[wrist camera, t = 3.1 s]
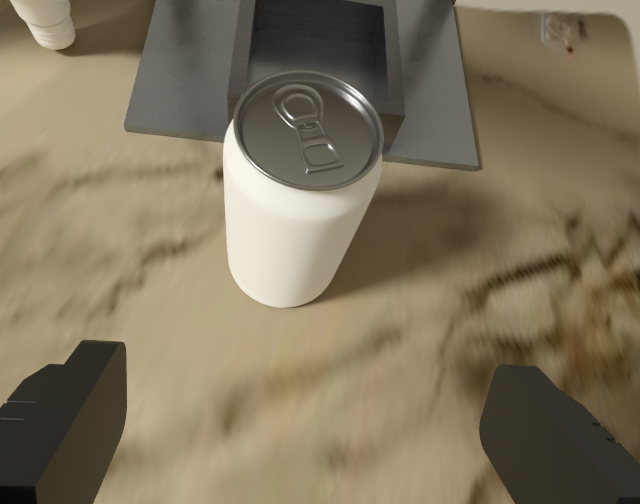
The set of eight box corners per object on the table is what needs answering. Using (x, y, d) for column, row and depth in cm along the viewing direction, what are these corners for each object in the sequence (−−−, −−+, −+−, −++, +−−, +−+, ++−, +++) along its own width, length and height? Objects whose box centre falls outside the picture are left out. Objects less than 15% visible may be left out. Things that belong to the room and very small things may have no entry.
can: (315, 202, 30) (358, 51, 19) (350, 293, 27) (422, 179, 17) (215, 225, 28) (201, 72, 17) (244, 324, 26) (249, 218, 15)
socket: (474, 171, 33) (503, 134, 29) (125, 131, 30) (110, 84, 26) (446, -11, 42) (466, -57, 38) (173, -58, 38) (167, -112, 35)
